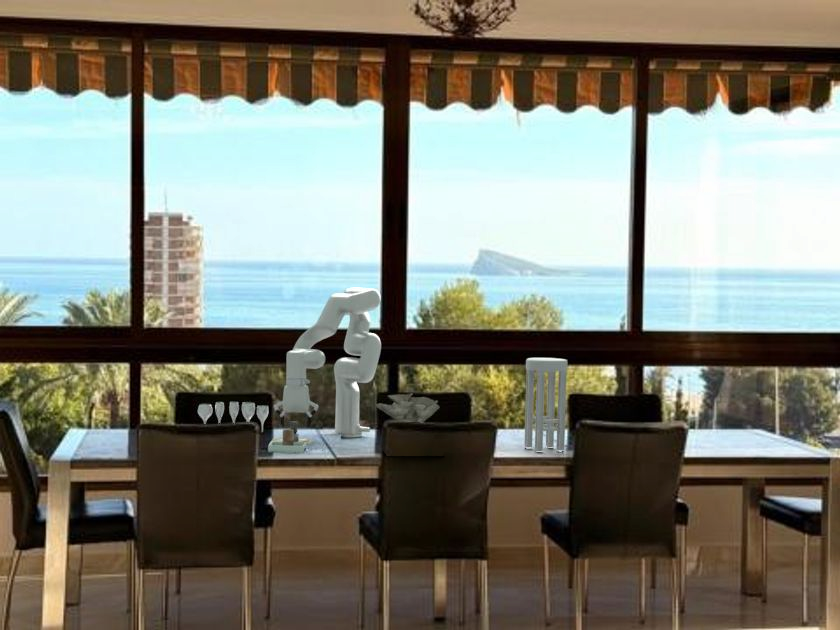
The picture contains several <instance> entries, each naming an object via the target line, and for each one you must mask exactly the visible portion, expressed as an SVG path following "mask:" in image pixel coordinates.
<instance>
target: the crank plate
mask: <svg viewBox="0 0 840 630" xmlns="http://www.w3.org/2000/svg"><path fill="white" fill-rule="evenodd" d="M271 441H276V442H283V437H274V438H272V440H271ZM271 441H270V442H269V444H270V443H271ZM312 441H313V438H299V442H306V446H309V445H310V444H311V442H312ZM269 444H268V445H269Z"/></svg>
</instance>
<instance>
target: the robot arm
mask: <svg viewBox="0 0 840 630" xmlns="http://www.w3.org/2000/svg"><path fill="white" fill-rule="evenodd" d="M381 299H382V297H381V294H380V292H379V291H378V290H377V289H375V288H372V287H370V288H369V287H349V288H345V290H344V291H343V293H341V292H340V293H334V294H332V295H330V296H329V298H328V299H327V301H326V303H325V304H324V307H323V309H322V311H321V313H320V315H319V317H318V319H317V321H316V322H315V324H314V325H312V326H311V327H309V328H308V329H307V330H306V331H304V332H303V333H302V334H301V335H300V336H299V338H298V339H297V341H296V342H295V344H294V346H293V348H292V350H289V351H287V352H286V377H285V381H286V383H285V384H286V385H284V388H283V396H282V400H281V401H279V402H277V403H274V405H273V408H274V411H275V412H276V414H277V415H278V416H279V418H280V425H281V427H282V428H285V424H286V422H285V421H286V418H285V417H286V416H285V415H286V413H306V415H307V418H306V420H307V422H306V423H307V424H306V425H307V426H306V428H310V427H311V425H312V417H313V416H314V415H315V414H316V413H317V411H318V409H319V408H320V407H319V405H318V403H315V402H313V401H311V400H310V390H309V386H308V385H307V384H310V383H311V381H310V379H308V378H307V369H313V370H315V369H316V370H317V369H319V368H321V367H323V366H324V364H325V362H326V356H325V353H324V352H323V351H321V350H320V349H314V348H312V347H313V346H314V345H315V344H317V343H318V342H321V341H322V340H324V339H327V338H329V337H332V336H333V335H335V334H336V333H337V330H338V328H339V326H340V324H341V323H342V321H343V318H344V316H349V322H348V327H347V331H346V335H345V339H344V343H343V350H344V351H345V352H346V354H348V355H351V356H359V358H357V357H349V356H348V357H346V356H344V357H340V358H339V359H337V360H336V362H335V363H334V366H333V373H334V379H335V380H334V381H335V420H334V422H335V423H334V427H335V428H334V431H331V433H330V434H331V435H332V434H333V435H341V436H340V437H341V438H347V439H348V438H360V437H363V432H365V433H370V432H371V427H369V426H361V424H360V399H361V398H360V397H361V396H360V393H361V392H360V388H359V385H358V383H362V384H366V383H369V382H371V381H372V380H373V379H374V378H375V377H374V376H375V374H376V371H377V366H378V363H379V359H380V356H381V352H382V351H381V350H382V342H381V339H380V337H379V336H378V335H377V334H376V333H372V332H370V326H371V318H370V314H369V312H370V311H373V310H376V309H377V308H378V307H379V305H380V303H381V302H382V301H381ZM281 406H282V411H281V410H280V409H279V407H281ZM310 406H311V407H313V409H312V410H311V411H310Z"/></svg>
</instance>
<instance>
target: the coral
mask: <svg viewBox="0 0 840 630" xmlns="http://www.w3.org/2000/svg"><path fill="white" fill-rule="evenodd" d="M413 394H414V393H411V392H410V393H408V394H401V393H399V394H398V393H397V394H391V395H390V394H389V395H387V397H388V398H389V399H390V400H391V401H393V403H392V404H386V403H376V404H375V407H376V408H377V409H378V410H380V411H382V412H384V413H385V414H386V415H388V416H389V417H391V418H393V419H394V420H395V422H396V421H404V422H420V423H424V424H425V422H426V421H427V420H428V419H429V418H431V416H433V415H434V414H435V413H436V412H437V411H438V410H440V408H441V407H440V406H439V404H438V402H439V401H438V400H434V399H431V398H429V397H426V396H421V397H418V396H417V397H413Z"/></svg>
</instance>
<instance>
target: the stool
mask: <svg viewBox="0 0 840 630" xmlns="http://www.w3.org/2000/svg"><path fill="white" fill-rule="evenodd" d="M525 370H526V379H525V380H526V381H525V385H526V387H525V413H524V414H525V415H524V420H525V421H524V446H525V447H532V448H533V434H534V433H533V431H534V429H535V431H534V432H535V434H534V452H535V451H544V449H543V448H544V447H543V446H544V432H545V447H546V446H547V447H553V448H554V444H555V441H554V440H555V439H554V437H555V432H556V447H555V448H556V449H557V450H564V451H565V441H566V438H565V436H566V434H565V433H566V408H567V407H566V405H567V403H566V401H567V374H568V372H567V371H568V359H565V358H556V357H528V358H526V360H525ZM535 371H536V390H535ZM546 372H547V391H546V392H547V394H546V395H547V396H546V416H545V415H544V413H545V412H544V411H545V410H544V409H545V384H546V382H545V381H546ZM557 372H558V386H557V387H558V388H557V416H556V417H557V418H556V419H555V409H556V408H555V407H556V377H557V376H556V373H557ZM535 391H536V393H535ZM534 394H536V396H534ZM534 397H536V398H535V399H536V400H535V416H534ZM534 421H535V424H534ZM555 424H556V427H555Z"/></svg>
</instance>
